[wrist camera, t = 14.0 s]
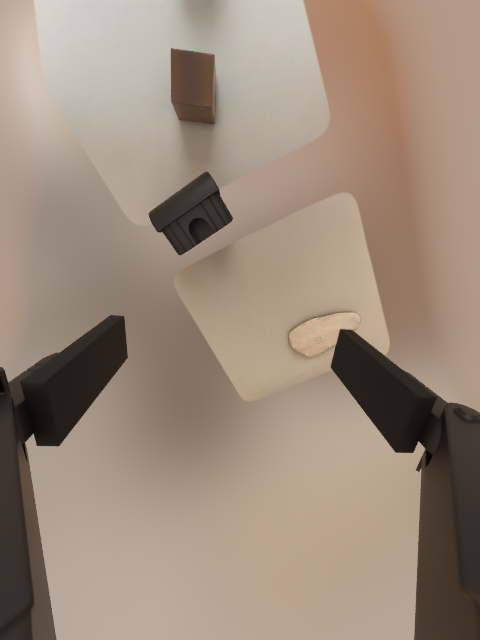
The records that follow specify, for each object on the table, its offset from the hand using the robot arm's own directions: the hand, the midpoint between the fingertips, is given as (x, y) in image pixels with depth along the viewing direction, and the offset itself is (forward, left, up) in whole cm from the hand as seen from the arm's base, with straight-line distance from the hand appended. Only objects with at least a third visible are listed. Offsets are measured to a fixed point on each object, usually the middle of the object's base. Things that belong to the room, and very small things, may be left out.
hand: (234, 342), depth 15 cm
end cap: (+6, -8, -29) cm, 31 cm away
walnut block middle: (+6, -23, -29) cm, 37 cm away
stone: (-19, +10, -29) cm, 36 cm away
